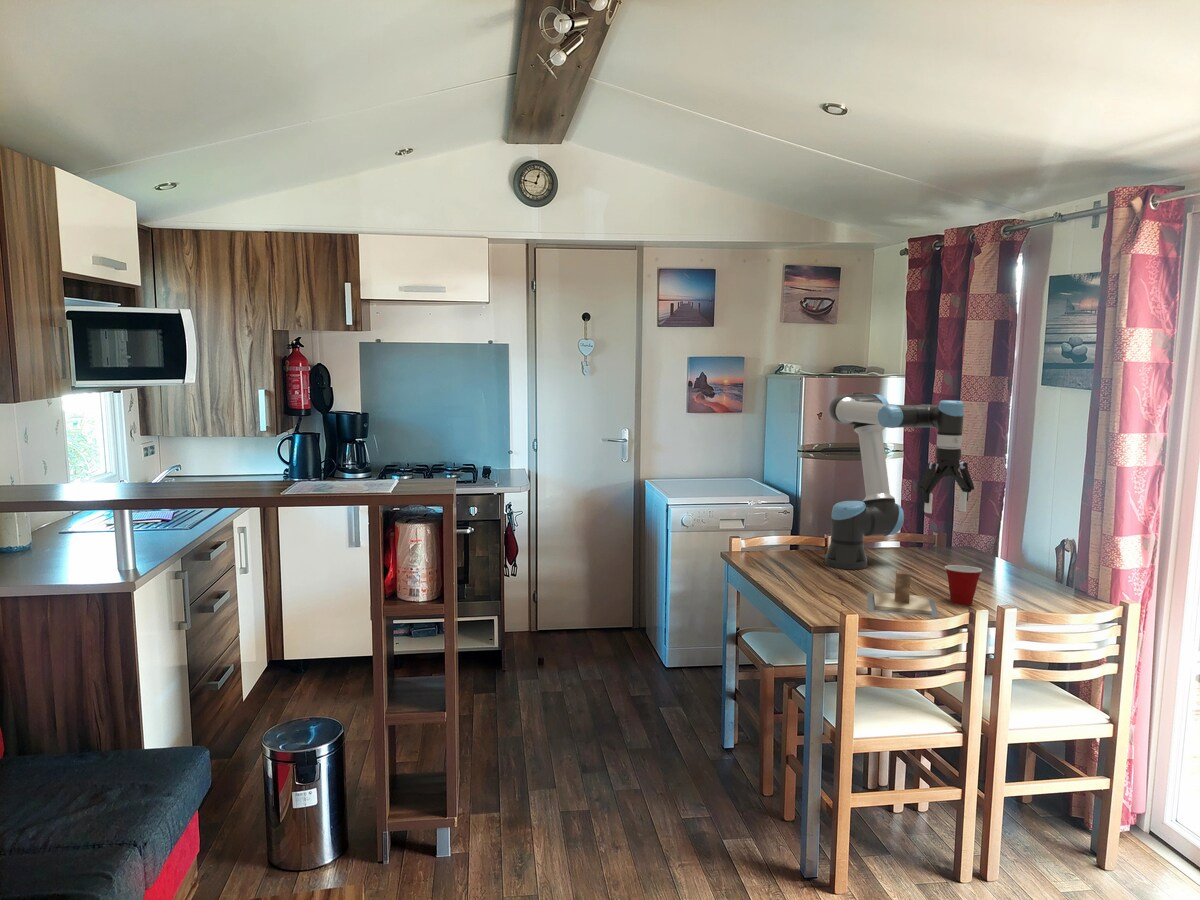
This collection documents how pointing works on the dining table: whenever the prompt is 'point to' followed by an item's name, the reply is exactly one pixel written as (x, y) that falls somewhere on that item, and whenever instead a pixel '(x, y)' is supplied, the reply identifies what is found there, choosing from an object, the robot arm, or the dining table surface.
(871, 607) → the mat
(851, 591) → the dining table surface
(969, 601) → the plastic cup
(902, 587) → the lid
